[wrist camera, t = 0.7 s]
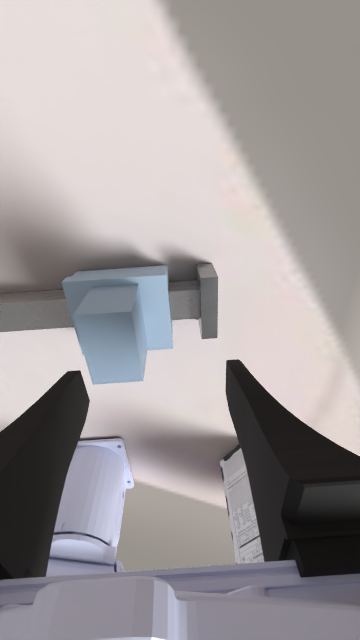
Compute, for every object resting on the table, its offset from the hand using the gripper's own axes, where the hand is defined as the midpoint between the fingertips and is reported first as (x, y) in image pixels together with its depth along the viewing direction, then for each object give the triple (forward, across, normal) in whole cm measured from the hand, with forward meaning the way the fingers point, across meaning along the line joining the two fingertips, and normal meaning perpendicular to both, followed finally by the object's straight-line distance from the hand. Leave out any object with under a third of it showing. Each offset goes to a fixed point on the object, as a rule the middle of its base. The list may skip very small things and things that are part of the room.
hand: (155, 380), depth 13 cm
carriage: (+10, +3, 0) cm, 11 cm away
